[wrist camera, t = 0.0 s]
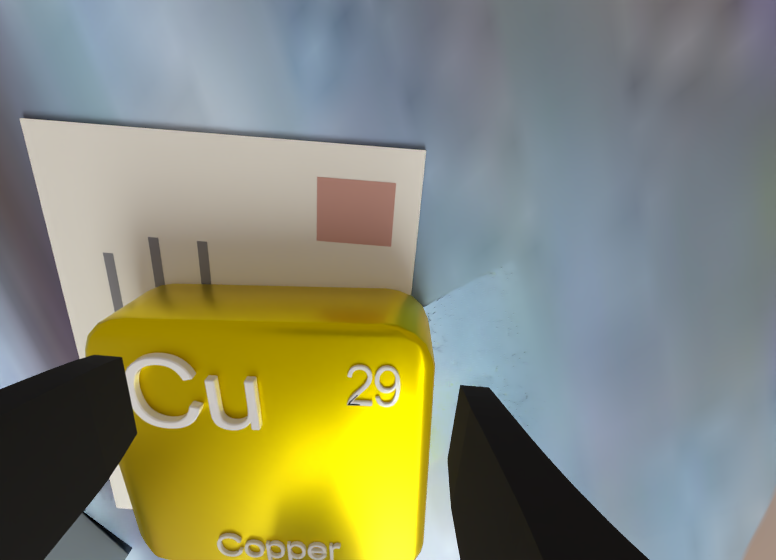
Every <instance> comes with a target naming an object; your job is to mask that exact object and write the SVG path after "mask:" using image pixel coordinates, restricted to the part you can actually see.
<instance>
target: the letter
mask: <svg viewBox="0 0 776 560" xmlns="http://www.w3.org/2000/svg"><path fill="white" fill-rule="evenodd" d="M20 122H21V126H22V130H23V134H24V138H25V142H26V146H27V150H28V154H29V158H30V162H31V166H32V170H33V174H34V178H35V182H36V186H37V190H38V194H39V198H40V202H41V206H42V210H43V214H44V218H45V222H46V226H47V230H48V234H49V238H50V242H51V246H52V250H53V254H54V258H55V262H56V266H57V270H58V274H59V278H60V282H61V286H62V290H63V294H64V298H65V302H66V306H67V310H68V314H69V318H70V322H71V326H72V330H73V334H74V338H75V342H76V346H77V350H78V354H79V358H80V359H81V358H85V347H86V341H87V336H88V334H89V333H90V332H91V331H92V329H93V328H94V327H95V326H96V325H97V323H99V322H100V321H102V320H103V319H105V318H107V317H108V316H110V315H111V314H113V313H114V312H116V311H117V310H119V309H121V308H122V307H124V306H125V305H127V304H128V303H130V302H132V301H133V300H135V299H136V298H138V297H139V296H141V295H142V294H144V293H146V292H147V291H149V290H151V289H154V288H156V287H158V286H161V285H167V284H216V285H260V286H304V287H348V288H388V289H393V290H399V291H401V292H403V293H406V294H408V295H411V291H412V282H413V272H414V263H415V253H416V243H417V234H418V224H419V215H420V205H421V195H422V186H423V176H424V167H425V157H426V150H416V149H404V148H391V147H378V146H366V145H353V144H341V143H328V142H316V141H303V140H291V139H278V138H265V137H253V136H240V135H228V134H215V133H203V132H190V131H178V130H165V129H152V128H140V127H127V126H115V125H102V124H90V123H77V122H64V121H52V120H39V119H27V118H20ZM109 479H110V483H111V487H112V491H113V495H114V499H115V503H116V507H117V508H124V509H133V508H132V505H131V502H130V499H129V495H128V492H127V489H126V486H125V483H124V479H123V476H122V473H121V470H120V467H119V464H118V466H117V467H116V469H115V470H114V472H113V473H112V475H111V476H110V478H109Z"/></svg>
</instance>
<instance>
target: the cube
mask: <svg viewBox="0 0 776 560" xmlns="http://www.w3.org/2000/svg"><path fill="white" fill-rule="evenodd" d="M131 549H132V547H130V546H129V545H128V544H126V543H125V542H124V541H122V540H121V539H120V538H118V537H117V536H116V535H114V534H113V533H112V532H110V531H109V530H108V529H106V528H105V527H104V526H102V525H101V524H100V523H98V522H97V521H96V520H94V519H93V518H92V517H90V516H89V515H88V514H86V513H85V512H84V511H83V512H82V514H81V515H80V516H79V517H78V519H77V520H76V521H75V522H74V523H73V525H72V526H71V527H70V528H69V530H68V531H67V532H66V533H65V535H64V536H63V537H62V538H61V539H60V541H59V542H58V543H57V544H56V546H55V547H54V548H53V549H52V550H51V552H50V553H49V554H48V555H47V557H46V558H45V559H44V560H125V559H126V557H127V556H128V554H129V552H130V551H131Z"/></svg>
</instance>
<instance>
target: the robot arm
mask: <svg viewBox="0 0 776 560" xmlns="http://www.w3.org/2000/svg"><path fill="white" fill-rule="evenodd" d="M136 435H137V428H136V423H135V418H134V413H133V408H132V403H131V399H130V394H129V389H128V384H127V379H126V374H125V369H124V364H123V359H122V357H116V356H104V355H91V356H88V357H85V358H81V359H78V360H75V361H72V362H70V363H67V364H64V365H61V366H59V367H56V368H53V369H51V370H48V371H45V372H43V373H40V374H38V375H35V376H33V377H30V378H27V379H25V380H22V381H20V382H17V383H15V384H12V385H10V386H7V387H5V388H2V389H0V560H44V559H45V558H46V557H47V555H48V554H49V553H50V552H51V550H52V549H53V548H54V547H55V546H56V544H57V543H58V542H59V541H60V539H61V538H62V537H63V536H64V535H65V533H66V532H67V531H68V530H69V528H70V527H71V526H72V525H73V523H74V522H75V521H76V520H77V519H78V517H79V516H80V515H81V514H82V512H83V511H84V510H85V509H86V507H87V506H88V505H89V504H90V502H91V501H92V500H93V499H94V497H95V496H96V495H97V494H98V492H99V491H100V490H101V488H102V487H103V486H104V485H105V483H106V482H107V481H108V479H109V478H110V476H111V475H112V473H113V472H114V470H115V469H116V467H117V466H118V464H119V463H120V461H121V460H122V458H123V456H124V455H125V453H126V451H127V450H128V448H129V446H130V445H131V443H132V441H133V440H134V438H135V436H136ZM448 473H449V487H450V499H451V510H452V516H453V521H454V527H455V533H456V538H457V544H458V549H459V555H460V560H649V559H648V558H647V557H646V556H645V555H644V554H643V553H641V552H640V551H639V550H638V549H637V548H636V547H635V546H634V545H633V544H632V543H631V542H629V541H628V540H627V539H626V538H625V537H624V536H623V535H622V534H621V533H620V532H619V531H618V530H617V529H616V528H615V527H614V526H613V525H612V524H611V523H610V522H609V521H608V520H607V519H606V518H605V517H604V516H603V515H602V514H601V513H600V512H599V511H598V510H597V509H596V508H595V507H594V506H593V505H592V504H591V503H590V502H589V501H588V500H587V499H586V498H585V497H584V496H583V495H582V494H581V493H580V492H579V491H578V490H577V489H576V488H575V487H574V485H573V484H572V483H571V482H570V481H569V480H568V479H567V478H566V477H565V476H564V475H563V474H562V473H561V471H560V470H559V469H558V468H557V467H556V466H555V465H554V464H553V463H552V461H551V460H550V459H549V458H548V457H547V456H546V455H545V454H544V452H543V451H542V450H541V449H540V448H539V447H538V446H537V444H536V443H535V442H534V441H533V440H532V439H531V437H530V436H529V435H528V434H527V433H526V431H525V430H524V429H523V428H522V427H521V425H520V424H519V423H518V422H517V421H516V419H515V418H514V417H513V416H512V415H511V413H510V412H509V411H508V410H507V409H506V407H505V406H504V405H503V404H502V402H501V401H500V400H499V399H498V398H497V396H496V395H495V394H494V393H493V392H492V390H491V389H490V388H488V387H476V386H464V385H460V390H459V396H458V401H457V407H456V413H455V419H454V425H453V431H452V436H451V442H450V448H449V454H448Z"/></svg>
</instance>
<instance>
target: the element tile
mask: <svg viewBox="0 0 776 560" xmlns="http://www.w3.org/2000/svg"><path fill="white" fill-rule="evenodd" d="M91 355H104V356H116V357H122V359H123V364H124V369H125V374H126V379H127V384H128V389H129V394H130V399H131V403H132V408H133V413H134V418H135V423H136V428H137V435H136V436H135V438H134V440H133V441H132V443H131V445H130V446H129V448H128V450H127V451H126V453H125V455H124V456H123V458H122V460H121V461H120V463H119V467H120V470H121V473H122V476H123V479H124V483H125V486H126V489H127V492H128V495H129V499H130V502H131V505H132V508H133V511H134V515H135V518H136V521H137V524H138V527H139V531H140V534H141V536H142V537H143V539H144V541H145V543H146V544H147V545H148V547H149V548H150V549H151V551H152V552H153V553H154V554H155V555H156V556H158V557H161V558H164V559H169V560H415V559H416V558H417V556H418V555H419V553H420V552H421V549H422V546H423V541H424V525H425V510H426V495H427V479H428V464H429V449H430V434H431V418H432V403H433V388H434V373H435V362H434V356H433V349H432V342H431V335H430V328H429V323H428V318H427V316H426V313H425V311H424V309H423V306H422V305H421V304H420V303H419V302H418V301H417V300H416V299H415V298H414V297H413V296H411V295H408V294H406V293H403V292H401V291H399V290H393V289H388V288H348V287H304V286H260V285H216V284H167V285H161V286H158V287H156V288H154V289H151V290H149V291H147V292H146V293H144V294H142V295H141V296H139V297H138V298H136V299H135V300H133V301H132V302H130V303H128V304H127V305H125V306H124V307H122V308H121V309H119V310H117V311H116V312H114V313H113V314H111V315H110V316H108V317H107V318H105V319H103V320H102V321H100V322H99V323H97V325H96V326H95V327H94V328H93V329H92V331H91V332H90V333H89V334H88V336H87V341H86V347H85V357H88V356H91Z"/></svg>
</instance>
